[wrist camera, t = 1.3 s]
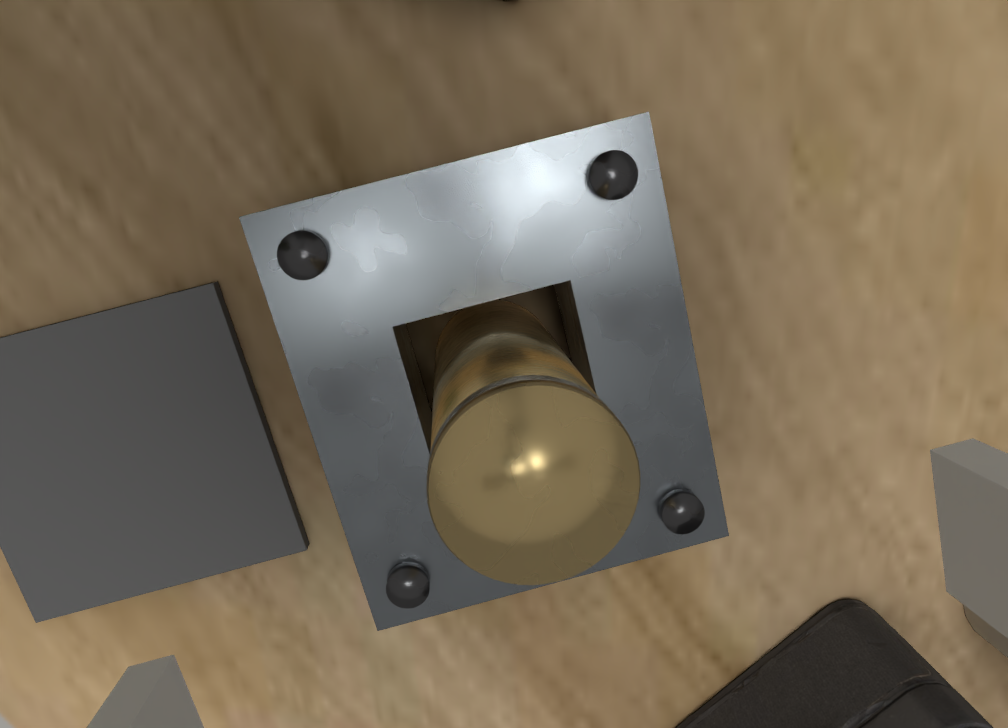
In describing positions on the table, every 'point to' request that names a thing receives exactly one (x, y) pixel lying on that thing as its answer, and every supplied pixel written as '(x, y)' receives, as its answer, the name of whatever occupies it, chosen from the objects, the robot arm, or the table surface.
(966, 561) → the robot arm
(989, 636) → the grey cylinder cluster
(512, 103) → the table surface
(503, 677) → the table surface
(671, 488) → the housing
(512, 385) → the plug
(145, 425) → the mat
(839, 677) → the camera
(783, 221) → the table surface
